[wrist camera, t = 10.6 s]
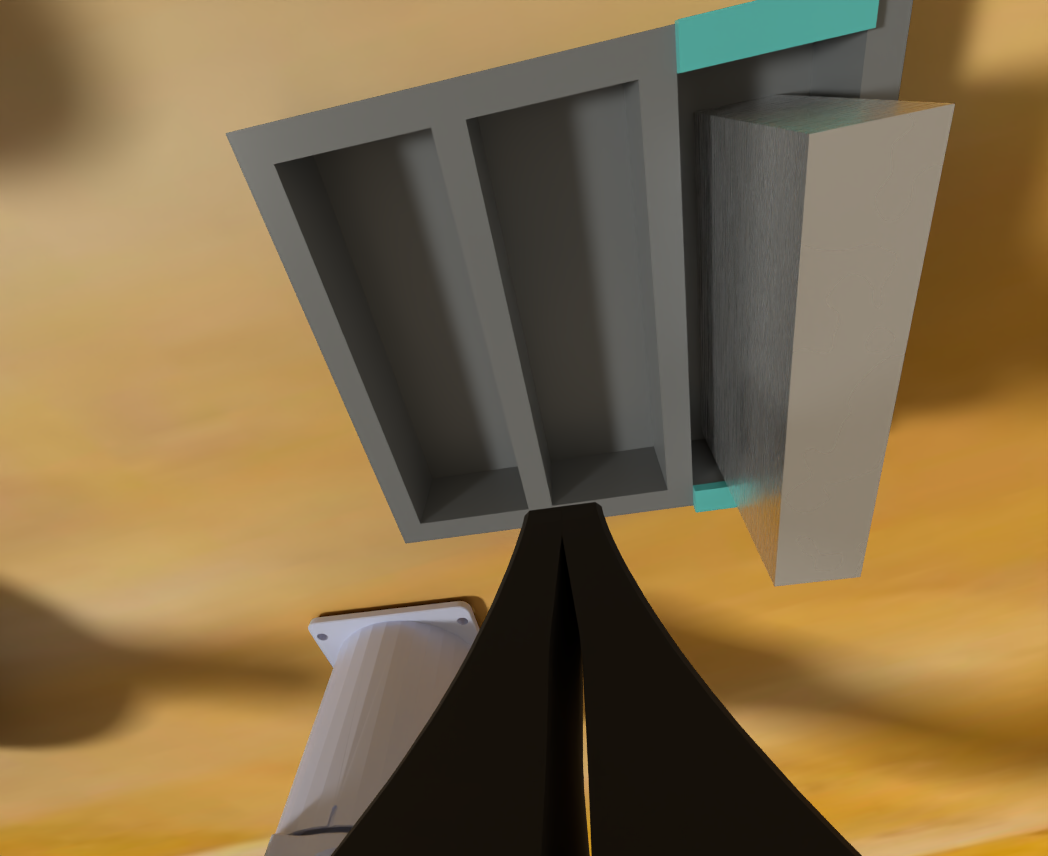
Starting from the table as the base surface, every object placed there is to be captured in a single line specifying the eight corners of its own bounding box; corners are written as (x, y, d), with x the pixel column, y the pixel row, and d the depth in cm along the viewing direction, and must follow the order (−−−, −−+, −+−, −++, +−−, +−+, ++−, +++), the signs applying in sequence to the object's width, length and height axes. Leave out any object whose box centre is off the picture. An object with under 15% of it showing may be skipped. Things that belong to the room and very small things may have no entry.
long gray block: (759, 422, 19) (860, 576, 13) (701, 431, 19) (774, 586, 13) (774, 94, 14) (955, 103, 8) (693, 112, 14) (809, 133, 8)
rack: (809, 433, 20) (854, 491, 17) (421, 490, 22) (404, 550, 19) (856, -18, 13) (945, -46, 10) (278, 122, 15) (217, 131, 12)
